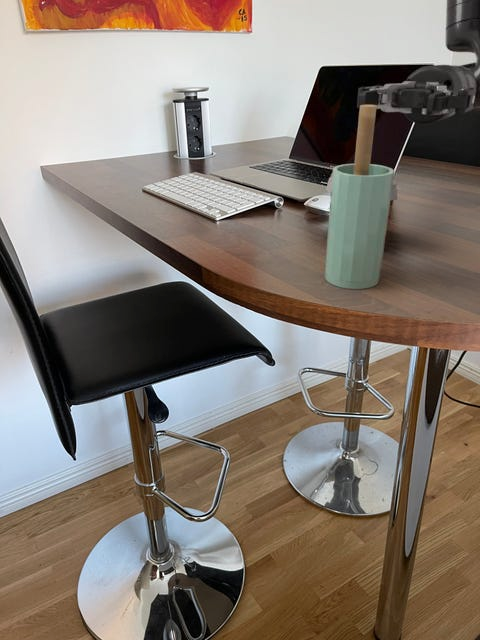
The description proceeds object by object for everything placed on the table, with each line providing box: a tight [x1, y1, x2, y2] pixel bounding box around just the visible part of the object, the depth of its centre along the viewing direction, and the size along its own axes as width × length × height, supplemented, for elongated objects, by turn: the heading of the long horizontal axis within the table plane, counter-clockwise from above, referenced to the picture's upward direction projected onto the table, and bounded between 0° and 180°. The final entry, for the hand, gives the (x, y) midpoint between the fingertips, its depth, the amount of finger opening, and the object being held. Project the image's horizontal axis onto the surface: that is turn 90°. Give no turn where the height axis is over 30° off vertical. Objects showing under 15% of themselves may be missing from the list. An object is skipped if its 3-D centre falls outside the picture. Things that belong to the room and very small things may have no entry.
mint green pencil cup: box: [324, 163, 395, 290], centre depth 62 cm, size 7×7×14 cm
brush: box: [353, 105, 377, 175], centre depth 60 cm, size 4×4×20 cm
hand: (395, 103), depth 61 cm, fingers open, 8 cm apart
